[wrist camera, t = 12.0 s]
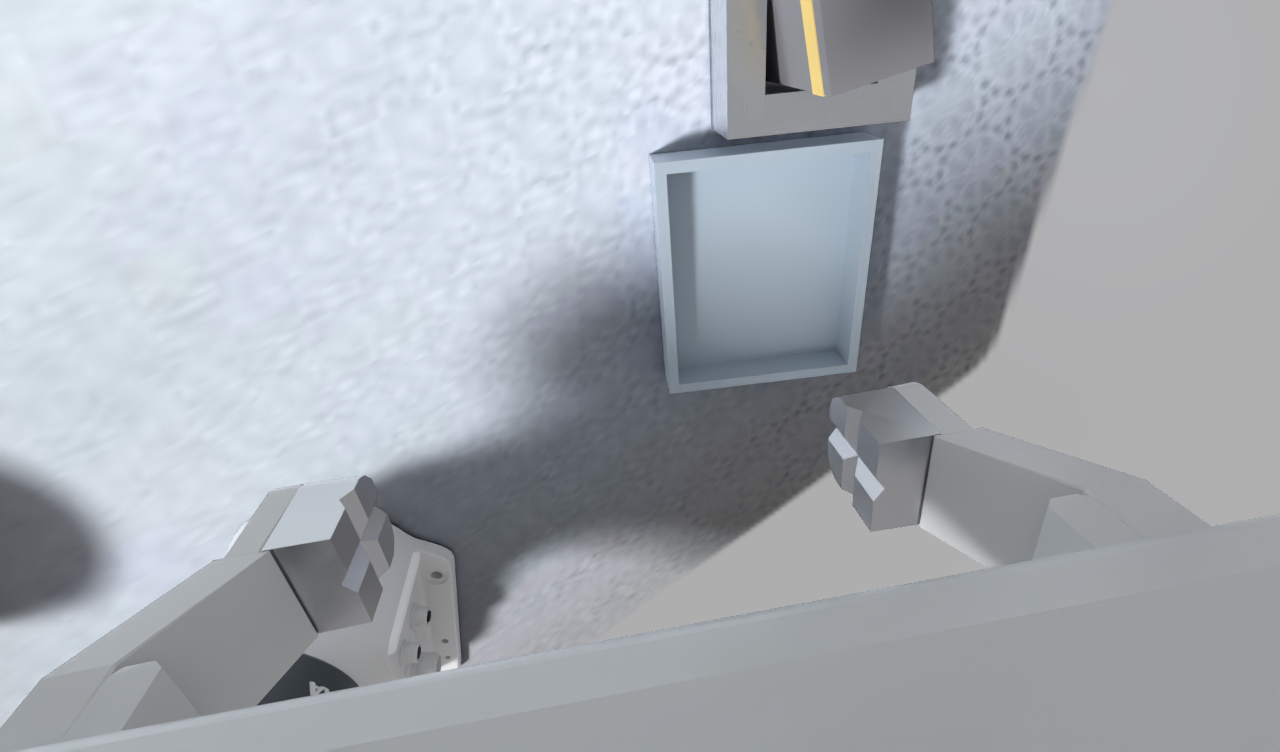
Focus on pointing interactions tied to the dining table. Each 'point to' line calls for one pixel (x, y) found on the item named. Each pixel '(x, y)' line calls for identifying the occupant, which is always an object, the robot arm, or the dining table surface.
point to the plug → (845, 42)
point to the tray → (763, 258)
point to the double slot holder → (778, 109)
